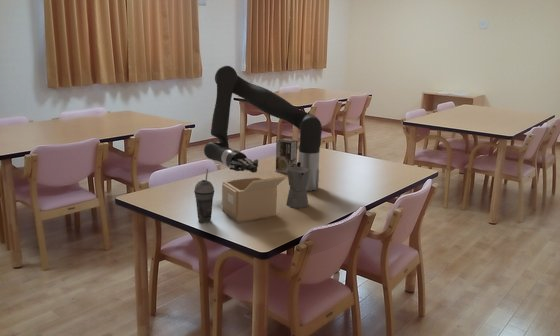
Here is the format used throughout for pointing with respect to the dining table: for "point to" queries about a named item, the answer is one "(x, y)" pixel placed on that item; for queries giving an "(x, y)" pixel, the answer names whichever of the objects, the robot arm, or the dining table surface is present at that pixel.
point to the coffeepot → (297, 186)
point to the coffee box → (285, 154)
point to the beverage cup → (204, 200)
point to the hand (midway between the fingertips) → (255, 169)
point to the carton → (248, 200)
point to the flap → (264, 184)
